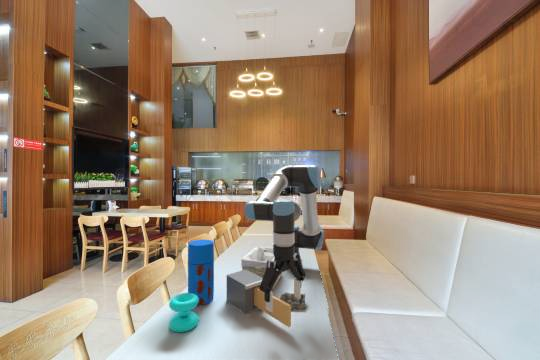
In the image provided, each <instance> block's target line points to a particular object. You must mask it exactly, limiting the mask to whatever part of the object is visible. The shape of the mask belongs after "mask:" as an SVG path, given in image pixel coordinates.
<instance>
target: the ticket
mask: <svg viewBox="0 0 540 360" xmlns="http://www.w3.org/2000/svg"><path fill="white" fill-rule="evenodd" d="M253 305H255V306H256V307H258V308H259V310H260V311H262V312H264V313H265V314H267V315H269V316H270V317H272V318H274V319H275V320H276V321H278V322H280V323H281V324H282V325H284V326H285V327H287V328H290V327H291V326H292V308H291V305H290V304H288V303H286V302H284V301H282V300H281V299H280V297H276V296H275V295H273V312H270V311H268V310H267V309H266V301H265V300H264V292H262V291H260V290H259V288H258V287H256V286H255V287H253Z"/></svg>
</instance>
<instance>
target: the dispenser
mask: <svg viewBox="0 0 540 360" xmlns="http://www.w3.org/2000/svg"><path fill="white" fill-rule="evenodd" d="M262 279H263V278H262V277H260V276H258V275H256V274H254V273H252V272H250V271H248V270H242V269H241V270H240V271H235V272H233V273H232V272H231V273H228V274H226V301H227V302H228V303H229V304H231V305H232V306H233V307H235V308H236V309H237V310H238V311H240V312H241V313H243V314H244V315H246V314H249V313H252V312H253V311H256V310H258V309H259V308H258V307H256V306H255V305H253V287H255V286H256V287H258V288H260V285H261V282H262ZM259 310H260V309H259Z"/></svg>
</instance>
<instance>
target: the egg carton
mask: <svg viewBox="0 0 540 360" xmlns="http://www.w3.org/2000/svg"><path fill="white" fill-rule="evenodd" d="M279 299H281V300H282V301H284V302H286V303H288V304H290V305H291V309H294V308H297V309H299V310H302V309H305V304H306V293H303V294H301V298H300V299H298V298H296V297H294V292H293V293H290V292H288V291H287V292H283V293H281V295H280V297H279ZM292 301H293V302H292Z"/></svg>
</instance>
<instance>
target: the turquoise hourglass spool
mask: <svg viewBox="0 0 540 360" xmlns="http://www.w3.org/2000/svg"><path fill="white" fill-rule="evenodd" d="M198 302H199V299H198V296H197V295H195V294H193V293H188V292H181V293H179V294H176V295H175V296H173V297H172V298H171V299H170V301H169V302H168V303H169V308H170V310H172V311H174V312H176V314H174V315H173V316H172V317H171V319H170V320H169V323H168V326H169V328H170V329H171V331H173V332H176V333H184V332H189V331H190V330H192V329H194V328H195V327H196V326H197V325H198V323H199V320H200V319H199V315H198V314H197V313H196V312H195V311H192V310H194V309H195V308H196V307H197V304H198Z"/></svg>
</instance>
